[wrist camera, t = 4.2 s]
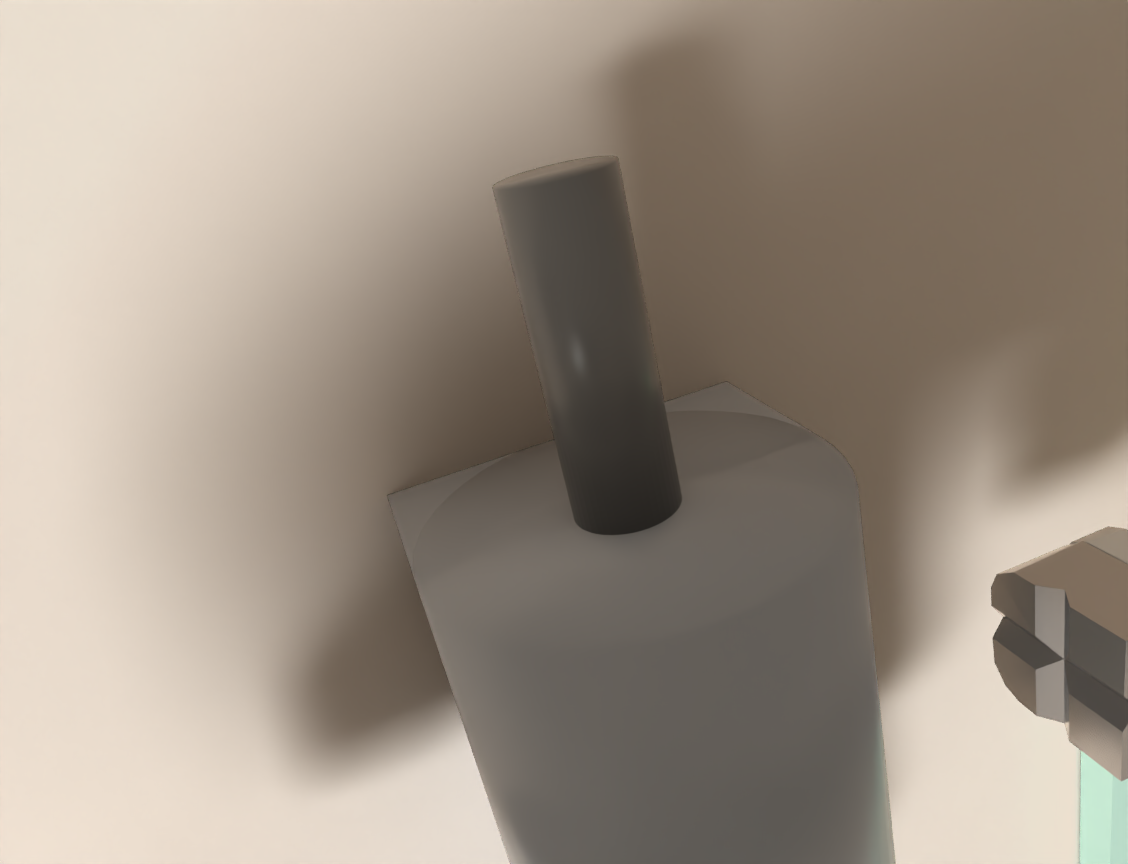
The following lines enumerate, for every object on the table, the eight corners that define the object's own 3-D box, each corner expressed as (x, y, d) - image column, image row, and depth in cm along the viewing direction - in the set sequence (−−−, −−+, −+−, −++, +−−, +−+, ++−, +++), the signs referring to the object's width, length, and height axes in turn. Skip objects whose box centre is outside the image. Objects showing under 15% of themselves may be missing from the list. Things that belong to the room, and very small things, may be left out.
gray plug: (292, 212, 8) (315, 291, 5) (680, 109, 9) (947, 112, 6) (557, 1003, 13) (672, 1348, 9) (803, 887, 14) (997, 1165, 10)
